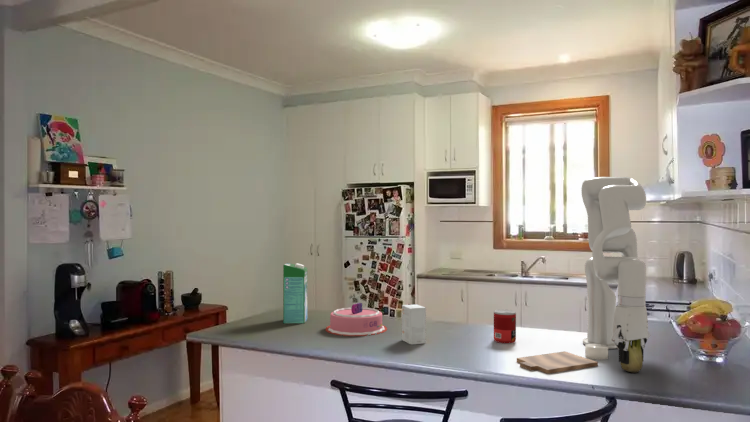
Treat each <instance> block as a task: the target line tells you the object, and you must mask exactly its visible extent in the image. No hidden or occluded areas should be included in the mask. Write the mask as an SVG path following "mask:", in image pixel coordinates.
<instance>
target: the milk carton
mask: <svg viewBox="0 0 750 422" xmlns="http://www.w3.org/2000/svg"><path fill="white" fill-rule="evenodd" d="M282 273H283V275H282V276H283V277H282V279H283V280H282V281H283V283H282V285H283V287H282V288H283V289H282V290H283V293H282V295H283V296H282V297H283V299H282V300H283V302H282V303H283V306H282V308H283V310H282V311H283V315H282V316H283V318H282V319H283V321H282V323H283V324H305V323H306V322H307V320H308V267H305V264H301V263H298V262H297V263H295V264H294V263H290V262H286V263H284V264H283V271H282Z"/></svg>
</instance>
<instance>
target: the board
mask: <svg viewBox="0 0 750 422" xmlns="http://www.w3.org/2000/svg"><path fill="white" fill-rule="evenodd" d="M516 363H519V367H521V368H523V369H525V370H528V371H531V372H532V371H540V372H542V373H545V374H549V375H550V374H555V373H562V372H567V371H574V370H579V369H580V370H582V369H586V368H591V367H598V365H599V362H598V361H596V360H594V359H590V358H587V357H585V356H584V357H583V356H580V355H578V354H574V353H570V352H568V351H557V352H551V353H550V352H549V353H544V354H536V355H529V356H523V357H517V358H516Z"/></svg>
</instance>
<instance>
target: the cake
mask: <svg viewBox="0 0 750 422" xmlns="http://www.w3.org/2000/svg"><path fill="white" fill-rule="evenodd" d="M329 315H330V316H329V318H330V321H329V325H327V326H325V329H324V330H325V332H327V333H328V334H332V335H336V336H342V335H343V336H344V337H368V336H367V335H368V334H371V335H370V336H374V335H375V333H377V334H376V335H380V333H381V334H383V333H386V332H387V331H388V328H387V326H386V325H383V313H382V311H379V310H378V309H376V308H371V307H364V306H363V303H362V302H357V303H353V304H352V305H351V306H350V307H342V308H337V309H335V310H333V311H332V312H331V313H330V314H329ZM376 335H375V336H376Z"/></svg>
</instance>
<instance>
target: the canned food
mask: <svg viewBox="0 0 750 422" xmlns="http://www.w3.org/2000/svg"><path fill="white" fill-rule="evenodd" d="M493 340H494V342H496V343H499V344H514V343H515V342H516V340H517V313H516V311H515V310H512V309H495V310H493Z"/></svg>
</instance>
